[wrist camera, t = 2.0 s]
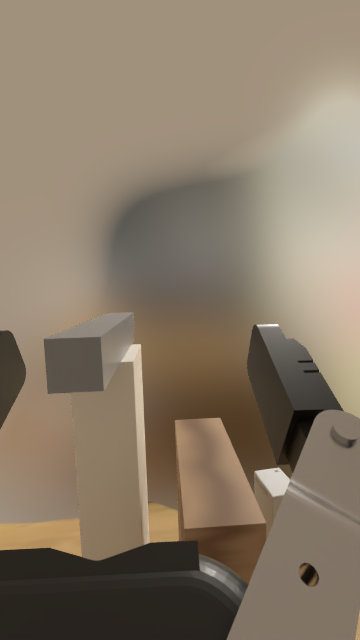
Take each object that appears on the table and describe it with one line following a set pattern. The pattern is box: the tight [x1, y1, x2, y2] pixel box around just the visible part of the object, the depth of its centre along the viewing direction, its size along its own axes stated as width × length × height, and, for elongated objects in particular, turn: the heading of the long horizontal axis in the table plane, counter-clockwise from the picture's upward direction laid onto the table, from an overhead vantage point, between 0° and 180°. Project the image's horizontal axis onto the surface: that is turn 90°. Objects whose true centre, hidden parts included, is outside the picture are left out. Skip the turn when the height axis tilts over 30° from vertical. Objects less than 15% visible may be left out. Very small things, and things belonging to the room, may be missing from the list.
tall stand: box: [71, 344, 149, 561], centre depth 38 cm, size 9×13×32 cm
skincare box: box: [254, 468, 290, 539], centre depth 44 cm, size 6×4×12 cm
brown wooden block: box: [175, 418, 266, 584], centre depth 32 cm, size 6×18×22 cm, turn 3°
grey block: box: [44, 312, 135, 394], centre depth 34 cm, size 4×24×4 cm, turn 3°
